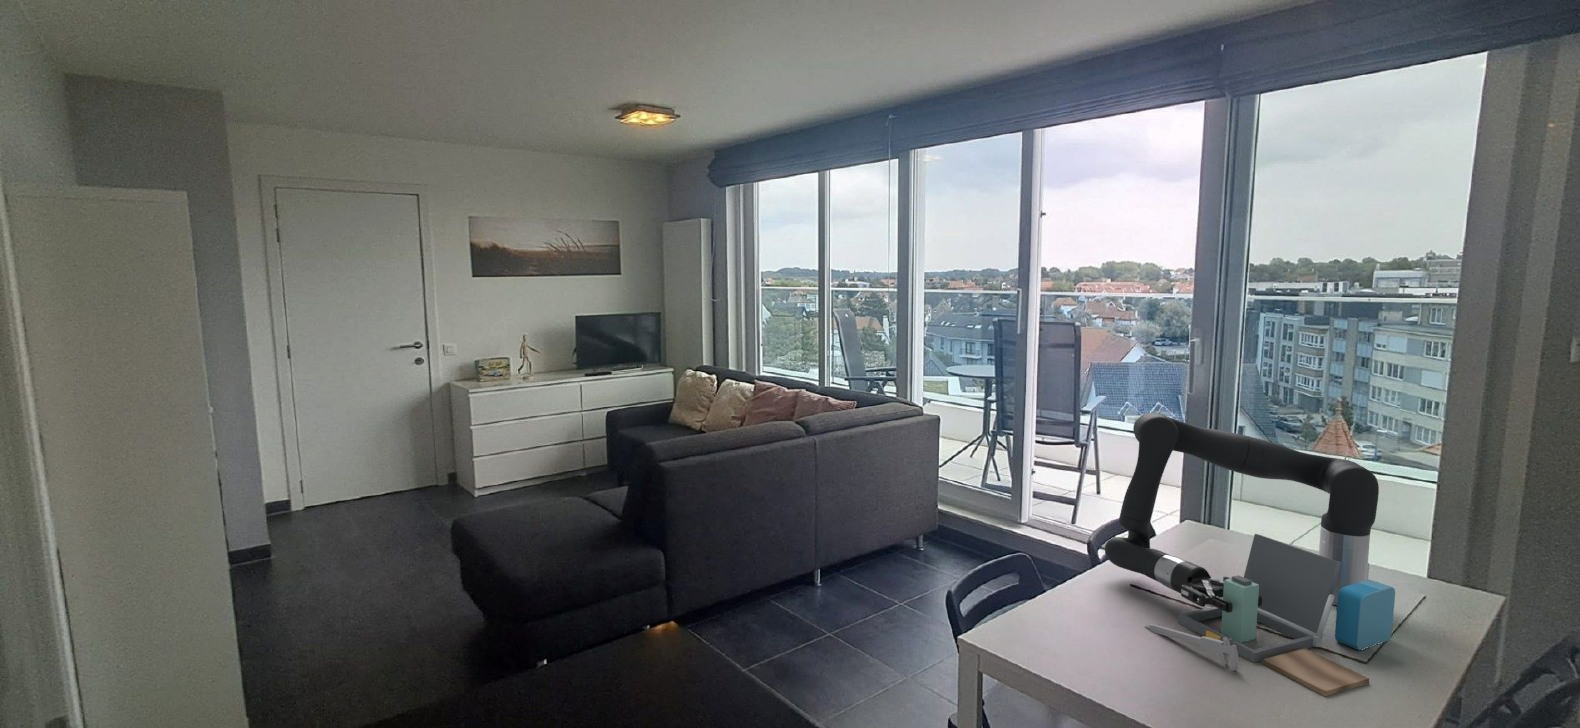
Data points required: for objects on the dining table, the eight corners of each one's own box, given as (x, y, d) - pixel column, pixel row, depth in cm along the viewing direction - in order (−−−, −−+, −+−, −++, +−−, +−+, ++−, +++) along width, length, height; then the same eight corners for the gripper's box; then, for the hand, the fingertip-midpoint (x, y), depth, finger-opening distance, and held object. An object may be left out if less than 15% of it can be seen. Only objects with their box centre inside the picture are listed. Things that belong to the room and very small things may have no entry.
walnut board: (1304, 653, 147) (1305, 648, 146) (1368, 683, 135) (1369, 678, 135) (1262, 664, 143) (1262, 659, 142) (1324, 696, 131) (1325, 691, 131)
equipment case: (1254, 605, 168) (1259, 532, 166) (1340, 643, 150) (1346, 562, 148) (1176, 623, 160) (1179, 547, 158) (1256, 665, 142) (1262, 580, 140)
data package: (1367, 631, 155) (1371, 577, 154) (1391, 640, 151) (1396, 585, 150) (1333, 642, 151) (1337, 588, 149) (1357, 652, 147) (1362, 596, 145)
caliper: (1237, 672, 140) (1239, 641, 140) (1234, 673, 140) (1235, 642, 139) (1147, 627, 159) (1148, 600, 158) (1143, 628, 158) (1145, 601, 158)
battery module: (1236, 629, 157) (1239, 573, 155) (1255, 638, 153) (1259, 581, 151) (1221, 633, 155) (1224, 576, 154) (1240, 642, 151) (1243, 584, 150)
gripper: (1158, 565, 164) (1222, 593, 149) (1205, 556, 169) (1271, 583, 154) (1157, 596, 165) (1220, 627, 150) (1203, 586, 170) (1269, 616, 155)
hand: (1246, 605), depth 152 cm, fingers open, 8 cm apart
